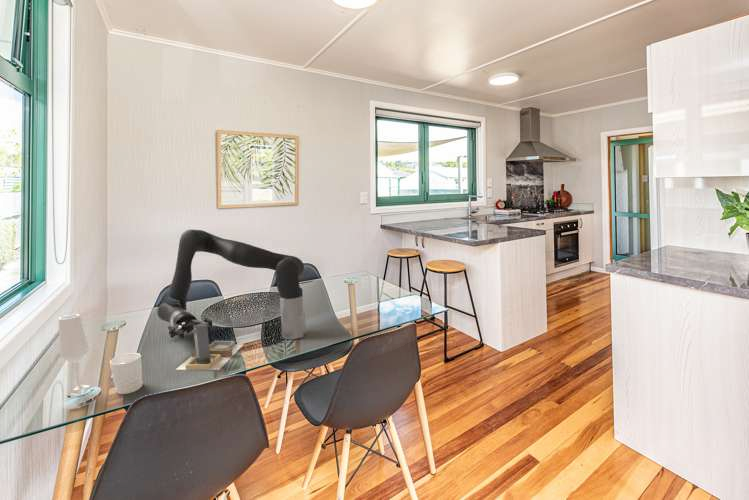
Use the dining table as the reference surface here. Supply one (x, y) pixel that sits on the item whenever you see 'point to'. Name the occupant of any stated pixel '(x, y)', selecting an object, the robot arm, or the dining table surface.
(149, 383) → the dining table surface
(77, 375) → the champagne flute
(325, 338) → the dining table surface
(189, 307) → the dining table surface
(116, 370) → the white cup
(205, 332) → the bar
